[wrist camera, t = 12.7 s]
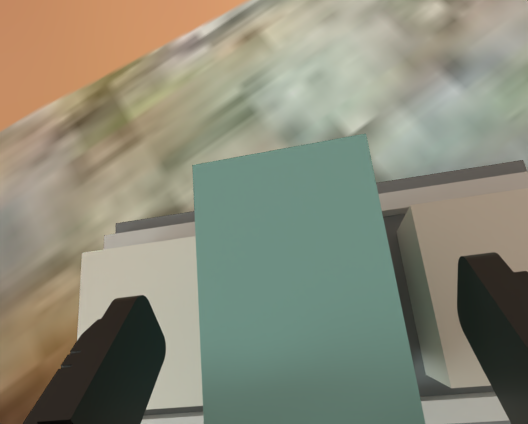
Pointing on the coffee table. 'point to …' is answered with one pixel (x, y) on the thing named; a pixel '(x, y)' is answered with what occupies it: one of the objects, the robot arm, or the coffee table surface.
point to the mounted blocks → (415, 267)
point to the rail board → (394, 209)
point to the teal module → (299, 291)
